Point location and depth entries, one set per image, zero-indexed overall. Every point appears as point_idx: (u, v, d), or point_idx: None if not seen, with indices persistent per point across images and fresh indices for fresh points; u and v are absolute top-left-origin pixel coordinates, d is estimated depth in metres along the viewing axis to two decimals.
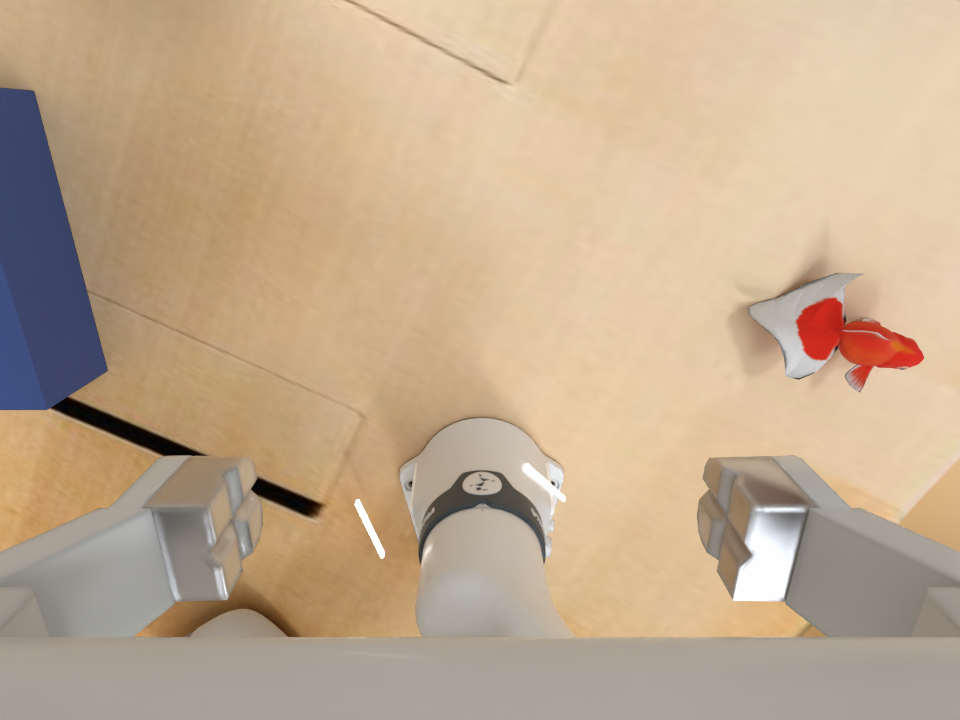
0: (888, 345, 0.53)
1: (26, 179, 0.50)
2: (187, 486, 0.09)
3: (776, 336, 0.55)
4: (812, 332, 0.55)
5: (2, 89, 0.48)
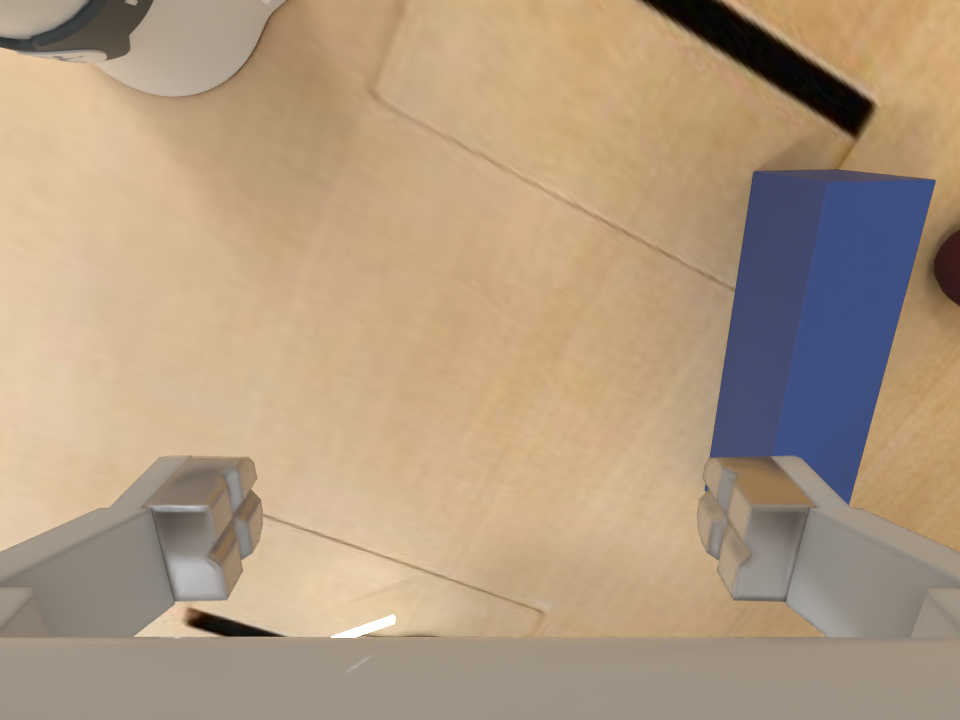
0: None
1: (734, 440, 0.45)
2: (187, 486, 0.09)
3: None
4: None
5: None
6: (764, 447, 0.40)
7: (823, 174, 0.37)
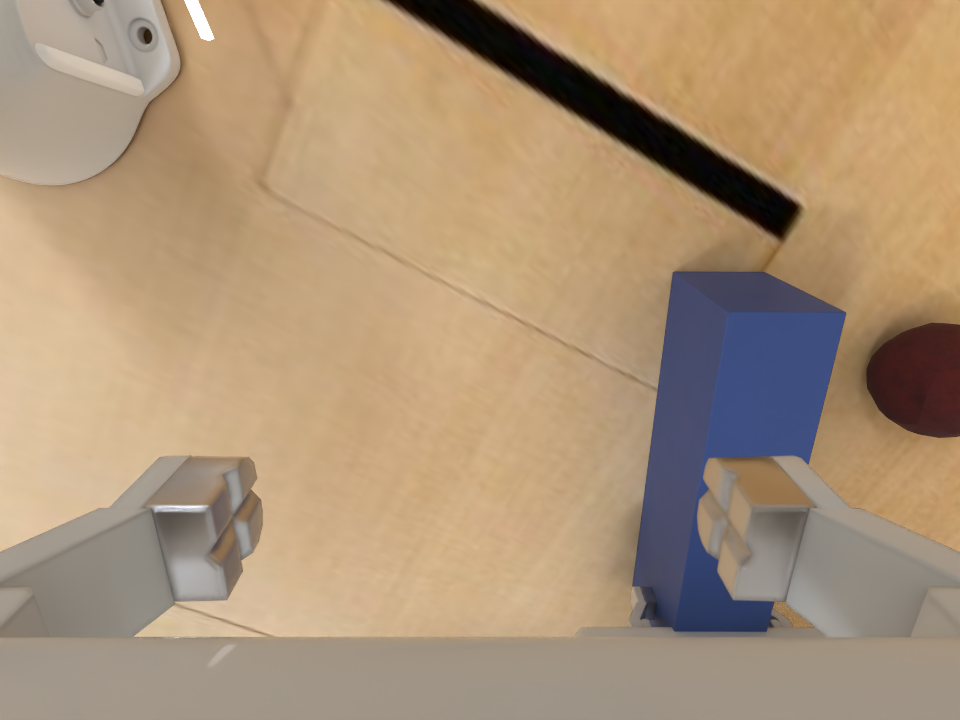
0: None
1: (654, 549, 0.42)
2: (187, 486, 0.09)
3: None
4: None
5: None
6: (676, 569, 0.38)
7: (738, 286, 0.35)
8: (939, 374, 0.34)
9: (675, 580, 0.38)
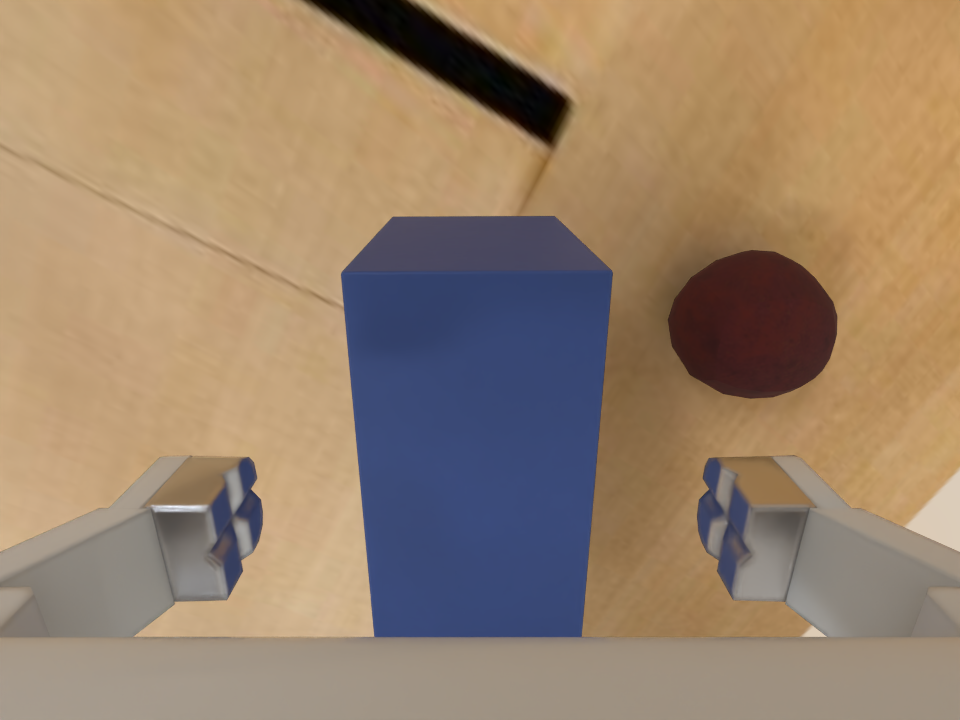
0: None
1: None
2: (187, 486, 0.09)
3: None
4: None
5: None
6: None
7: (463, 233, 0.18)
8: (733, 311, 0.26)
9: None
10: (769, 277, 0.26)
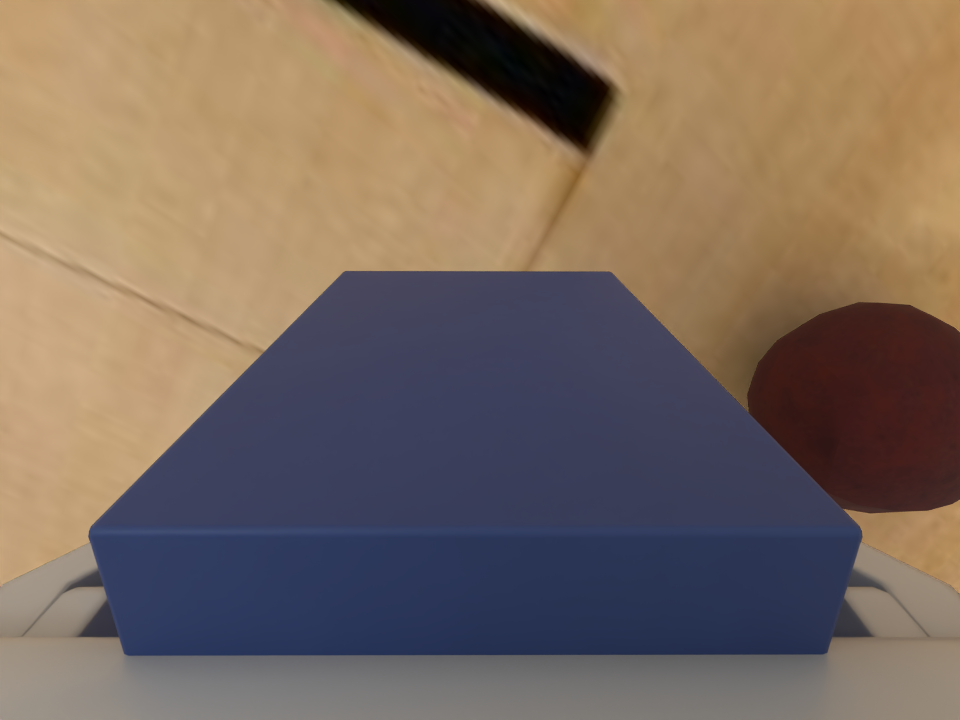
0: None
1: None
2: None
3: None
4: None
5: None
6: None
7: (455, 325, 0.09)
8: (861, 399, 0.18)
9: None
10: (915, 349, 0.18)
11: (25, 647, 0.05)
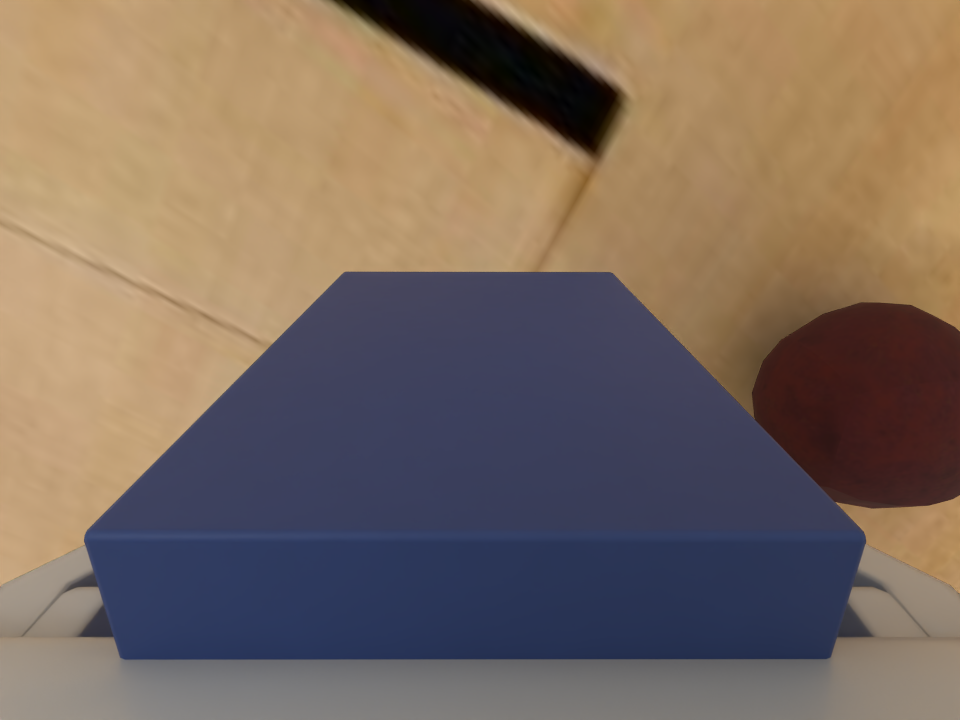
0: None
1: None
2: None
3: None
4: None
5: None
6: None
7: (455, 326, 0.09)
8: (862, 396, 0.18)
9: None
10: (915, 347, 0.18)
11: (25, 647, 0.05)
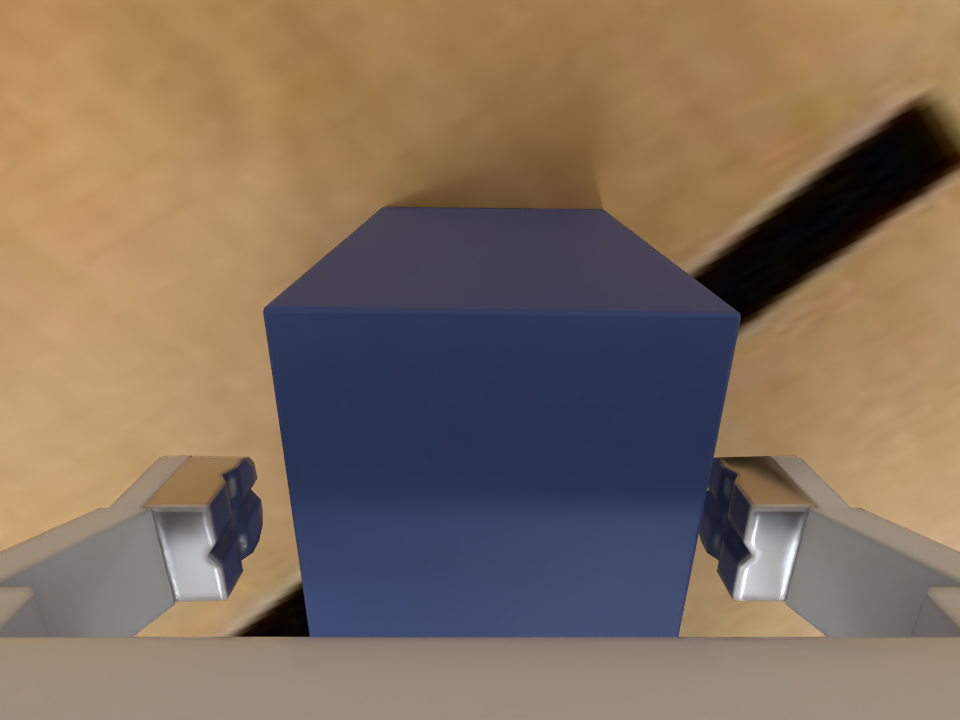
0: None
1: None
2: (187, 486, 0.09)
3: None
4: None
5: None
6: None
7: (478, 234, 0.12)
8: None
9: None
10: None
11: (25, 647, 0.05)
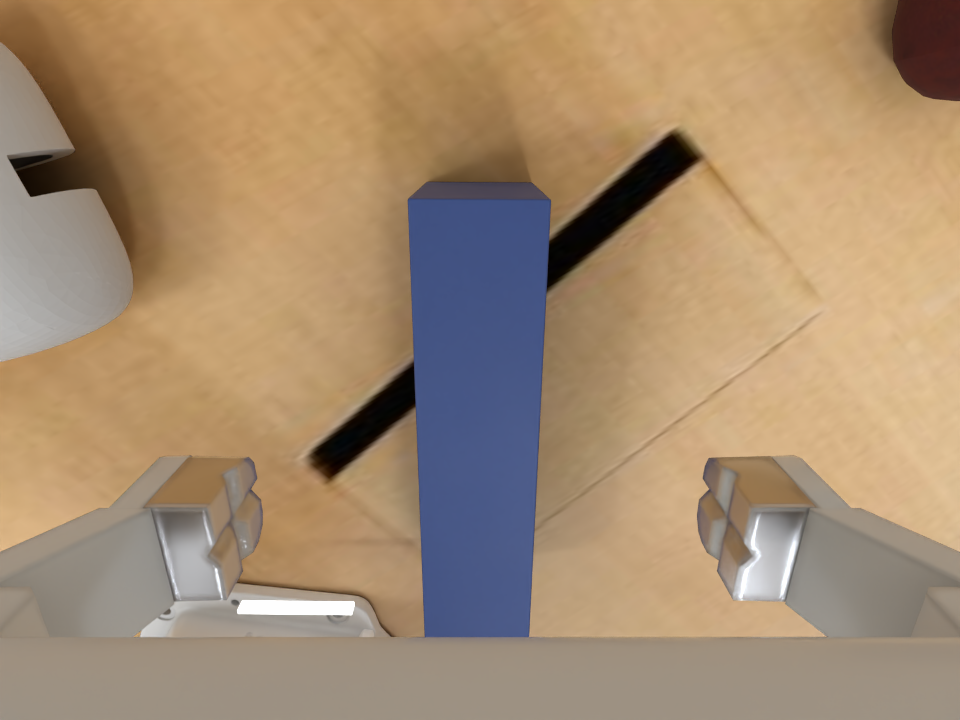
0: None
1: None
2: (187, 486, 0.09)
3: None
4: None
5: None
6: None
7: (472, 188, 0.29)
8: None
9: None
10: None
11: (25, 647, 0.05)
